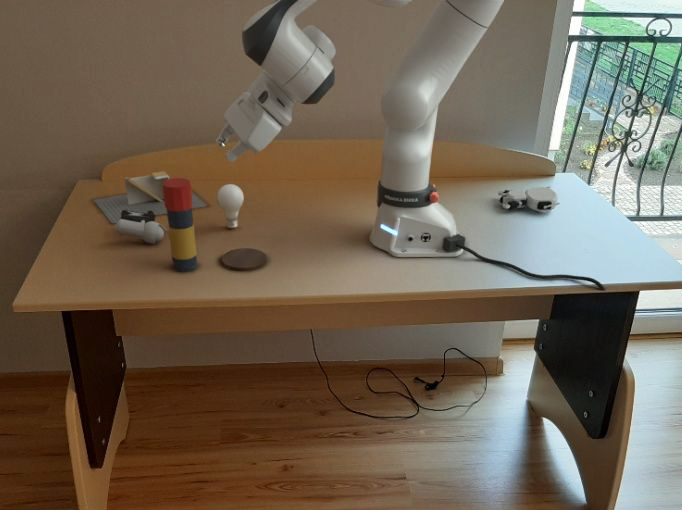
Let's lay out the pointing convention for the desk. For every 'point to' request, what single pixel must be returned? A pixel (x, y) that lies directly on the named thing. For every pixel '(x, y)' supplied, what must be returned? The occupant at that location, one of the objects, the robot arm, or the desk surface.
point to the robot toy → (530, 199)
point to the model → (140, 197)
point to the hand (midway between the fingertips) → (223, 151)
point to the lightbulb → (230, 203)
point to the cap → (177, 194)
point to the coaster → (244, 259)
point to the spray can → (182, 240)
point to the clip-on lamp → (140, 226)
